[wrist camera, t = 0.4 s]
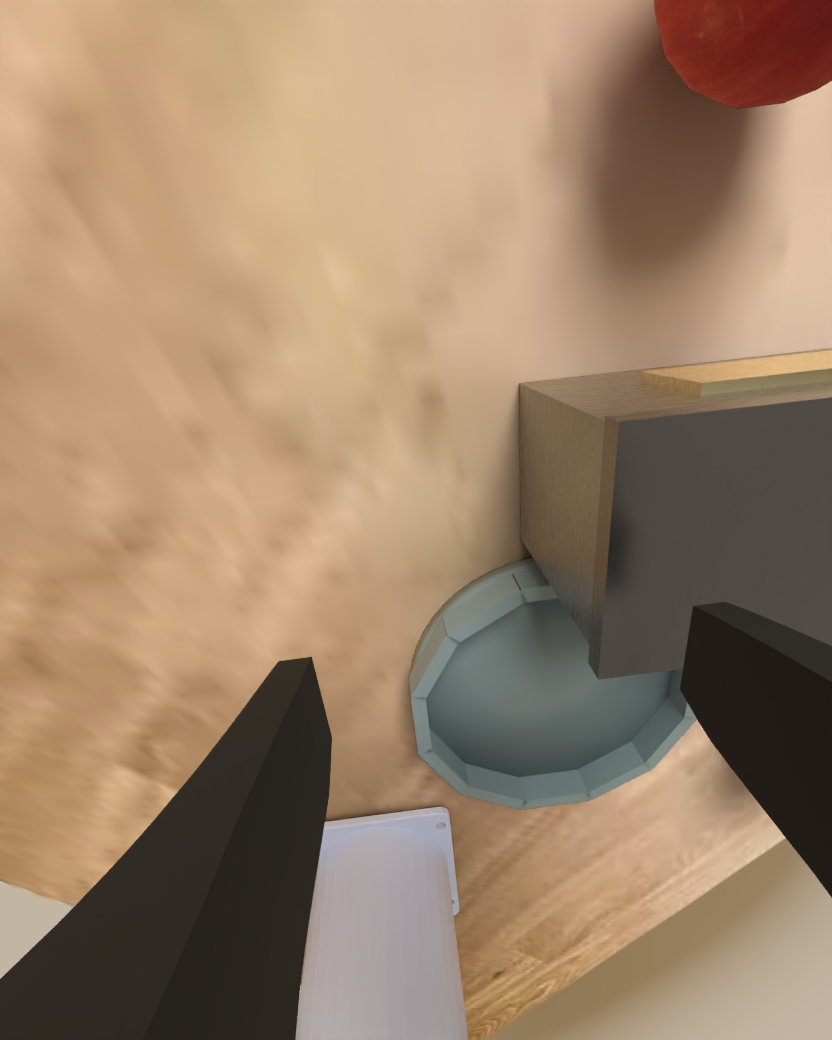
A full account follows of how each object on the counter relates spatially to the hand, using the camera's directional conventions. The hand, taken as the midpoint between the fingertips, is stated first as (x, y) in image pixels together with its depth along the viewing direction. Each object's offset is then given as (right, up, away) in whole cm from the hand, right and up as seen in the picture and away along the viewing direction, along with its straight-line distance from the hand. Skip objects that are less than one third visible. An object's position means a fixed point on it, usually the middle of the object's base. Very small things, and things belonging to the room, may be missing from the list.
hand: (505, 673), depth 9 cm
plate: (+4, -4, +12) cm, 14 cm away
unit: (+8, +6, +8) cm, 13 cm away
